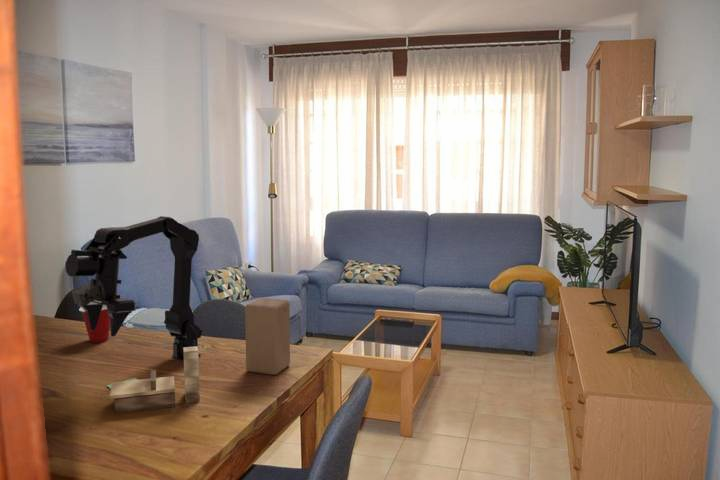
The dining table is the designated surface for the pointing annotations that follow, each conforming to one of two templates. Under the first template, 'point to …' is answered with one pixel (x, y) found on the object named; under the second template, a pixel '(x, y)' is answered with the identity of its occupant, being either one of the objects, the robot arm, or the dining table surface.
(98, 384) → the dining table surface
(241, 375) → the dining table surface
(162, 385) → the lid
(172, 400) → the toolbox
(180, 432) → the dining table surface
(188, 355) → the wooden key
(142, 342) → the dining table surface
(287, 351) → the wooden block
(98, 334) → the plastic cup
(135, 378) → the felt pad
